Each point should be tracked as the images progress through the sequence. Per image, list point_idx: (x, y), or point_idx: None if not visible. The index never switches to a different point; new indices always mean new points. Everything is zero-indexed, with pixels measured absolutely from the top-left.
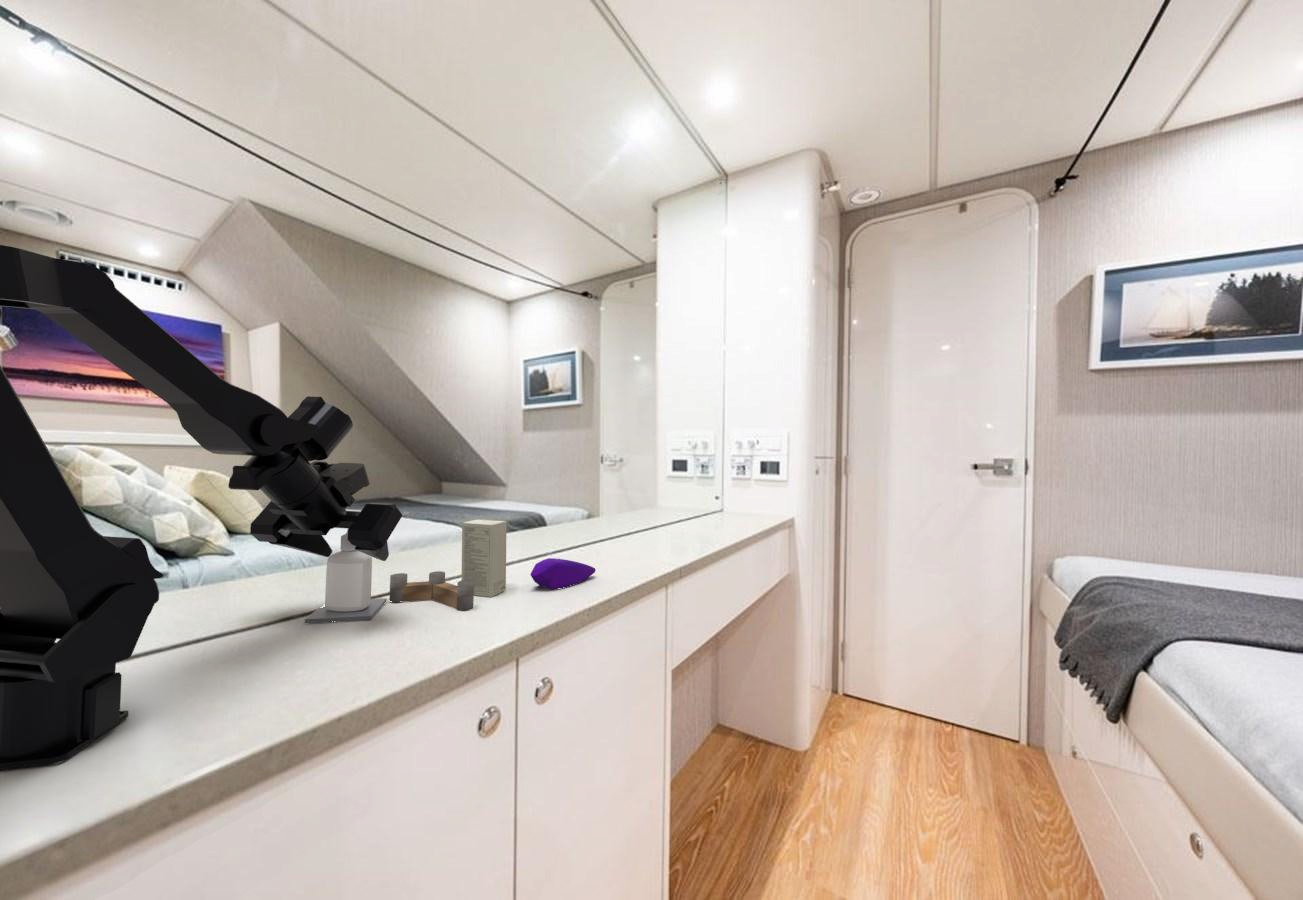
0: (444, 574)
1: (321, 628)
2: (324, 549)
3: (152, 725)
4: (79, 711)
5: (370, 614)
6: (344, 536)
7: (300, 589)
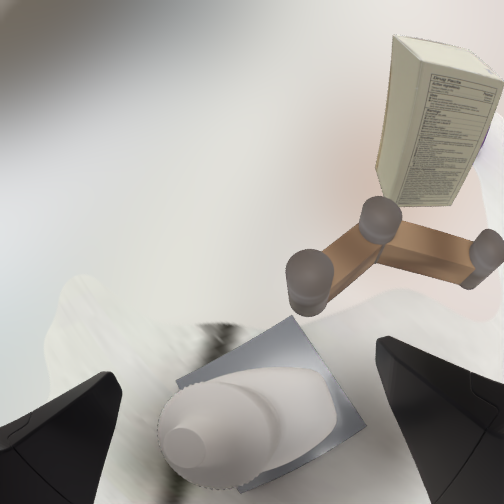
0: (399, 209)
1: (302, 497)
2: (102, 411)
3: None
4: None
5: (358, 421)
6: (211, 486)
7: (69, 310)
